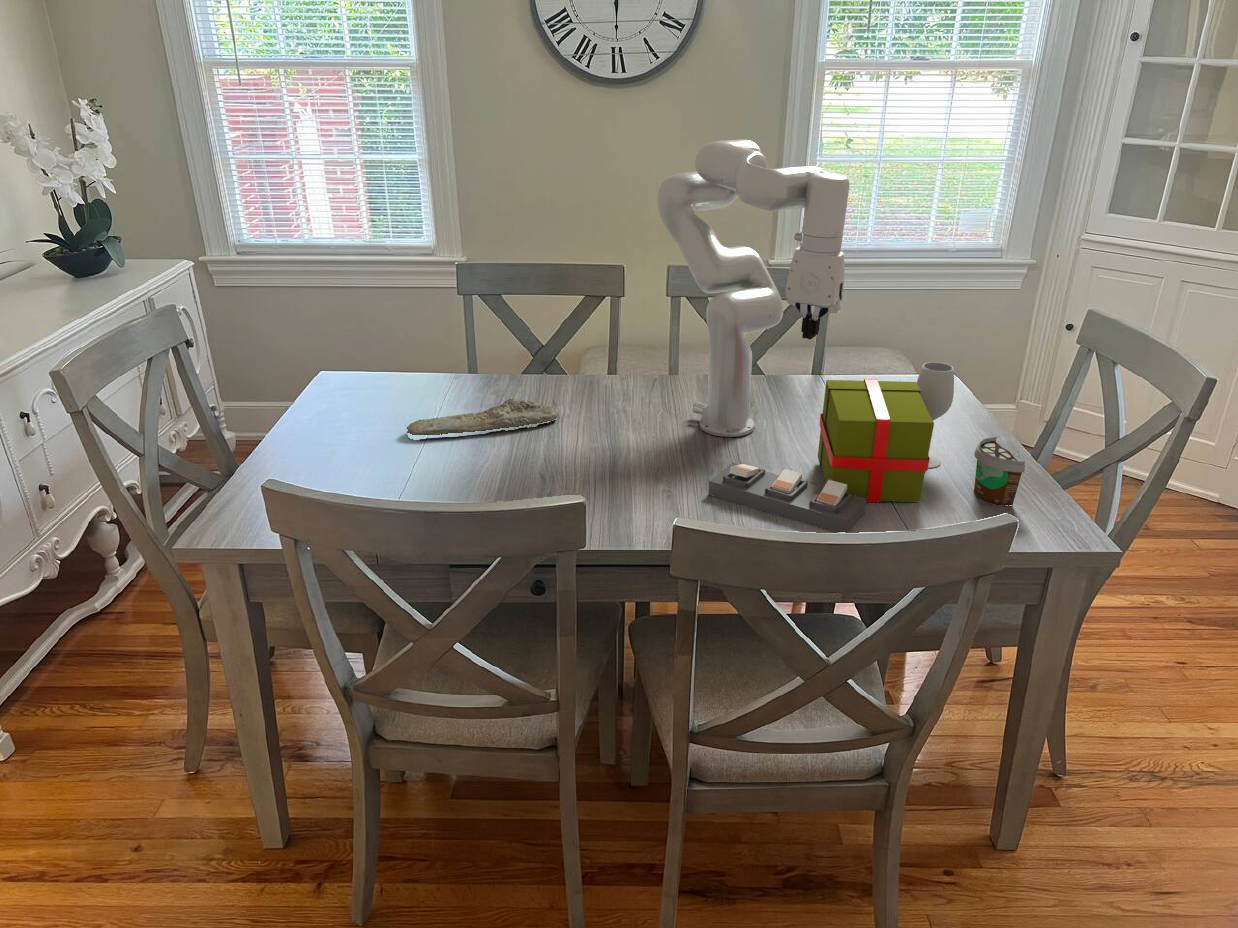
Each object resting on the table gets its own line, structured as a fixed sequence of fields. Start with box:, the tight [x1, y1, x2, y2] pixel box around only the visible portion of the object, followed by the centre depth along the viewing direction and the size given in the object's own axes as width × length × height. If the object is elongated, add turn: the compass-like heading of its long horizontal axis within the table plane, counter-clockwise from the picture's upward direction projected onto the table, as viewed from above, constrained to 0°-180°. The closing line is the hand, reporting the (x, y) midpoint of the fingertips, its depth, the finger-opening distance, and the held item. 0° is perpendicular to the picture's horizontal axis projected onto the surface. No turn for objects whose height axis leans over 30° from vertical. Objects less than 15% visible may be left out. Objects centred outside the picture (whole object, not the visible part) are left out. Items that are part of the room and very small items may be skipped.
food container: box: [973, 436, 1026, 507], centre depth 170 cm, size 12×6×10 cm, turn 5°
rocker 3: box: [817, 480, 847, 507], centre depth 163 cm, size 4×6×1 cm, turn 146°
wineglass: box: [916, 361, 955, 469], centre depth 182 cm, size 8×8×21 cm
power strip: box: [708, 462, 867, 533], centre depth 169 cm, size 28×10×4 cm, turn 56°
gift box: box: [817, 378, 935, 503], centre depth 176 cm, size 21×21×25 cm
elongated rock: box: [406, 397, 559, 435], centre depth 203 cm, size 35×5×10 cm
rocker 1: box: [729, 463, 760, 477], centre depth 172 cm, size 4×6×1 cm, turn 146°
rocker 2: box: [772, 468, 803, 494], centre depth 167 cm, size 4×6×1 cm, turn 146°
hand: (809, 336), depth 173 cm, fingers closed
